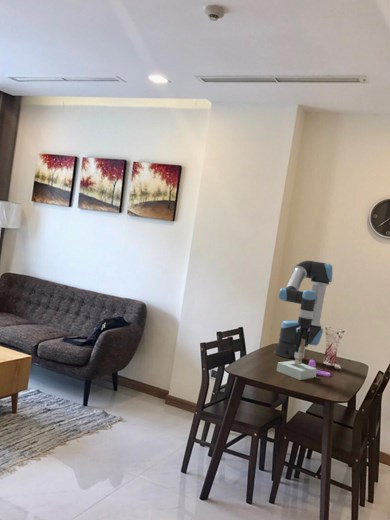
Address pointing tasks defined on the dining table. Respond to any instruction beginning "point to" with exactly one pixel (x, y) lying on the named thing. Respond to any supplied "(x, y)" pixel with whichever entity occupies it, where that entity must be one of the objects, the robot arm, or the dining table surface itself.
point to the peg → (299, 360)
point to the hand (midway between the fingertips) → (298, 357)
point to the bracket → (312, 364)
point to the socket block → (296, 370)
